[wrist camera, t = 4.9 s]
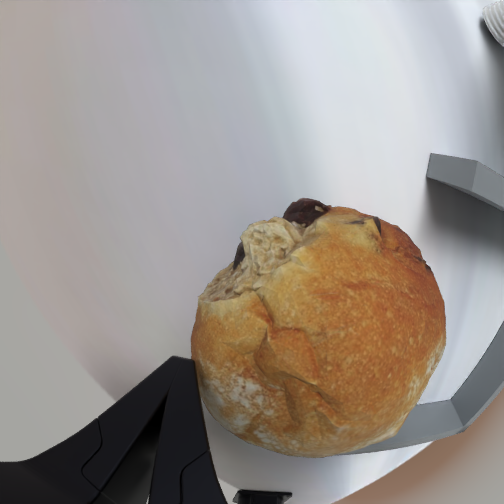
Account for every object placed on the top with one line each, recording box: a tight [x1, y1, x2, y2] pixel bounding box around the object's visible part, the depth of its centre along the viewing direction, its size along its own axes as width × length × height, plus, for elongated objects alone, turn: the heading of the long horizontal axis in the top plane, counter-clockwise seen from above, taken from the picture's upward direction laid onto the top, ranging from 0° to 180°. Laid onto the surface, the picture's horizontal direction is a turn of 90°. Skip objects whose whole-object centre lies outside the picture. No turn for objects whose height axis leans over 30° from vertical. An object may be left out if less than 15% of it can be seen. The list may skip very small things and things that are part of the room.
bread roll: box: [191, 198, 446, 458], centre depth 9 cm, size 10×10×8 cm
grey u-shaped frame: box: [336, 153, 504, 455], centre depth 10 cm, size 16×12×3 cm
